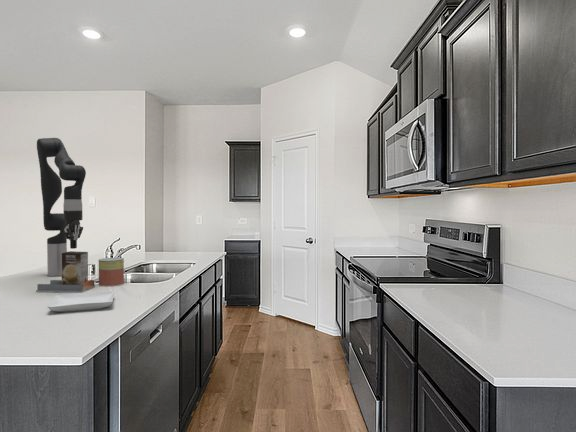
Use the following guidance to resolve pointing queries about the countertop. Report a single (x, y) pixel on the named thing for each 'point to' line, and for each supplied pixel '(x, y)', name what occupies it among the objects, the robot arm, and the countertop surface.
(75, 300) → the salad plate
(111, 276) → the canned food
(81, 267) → the coffee box
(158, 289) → the countertop surface
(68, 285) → the gray orange tray
